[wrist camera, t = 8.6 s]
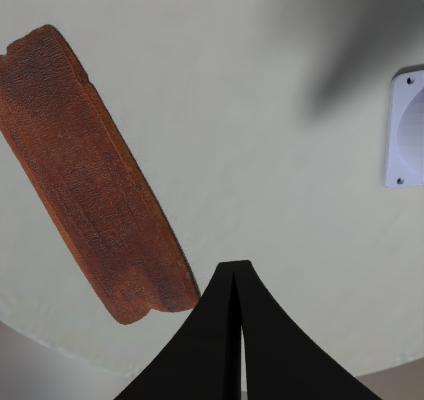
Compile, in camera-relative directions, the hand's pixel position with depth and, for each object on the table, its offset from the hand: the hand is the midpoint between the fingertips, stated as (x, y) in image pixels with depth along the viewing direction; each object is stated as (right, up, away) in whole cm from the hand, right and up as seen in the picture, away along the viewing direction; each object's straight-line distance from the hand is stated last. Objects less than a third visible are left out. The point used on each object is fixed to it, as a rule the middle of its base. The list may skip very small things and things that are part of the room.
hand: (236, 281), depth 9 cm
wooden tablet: (-11, +4, +11) cm, 16 cm away
